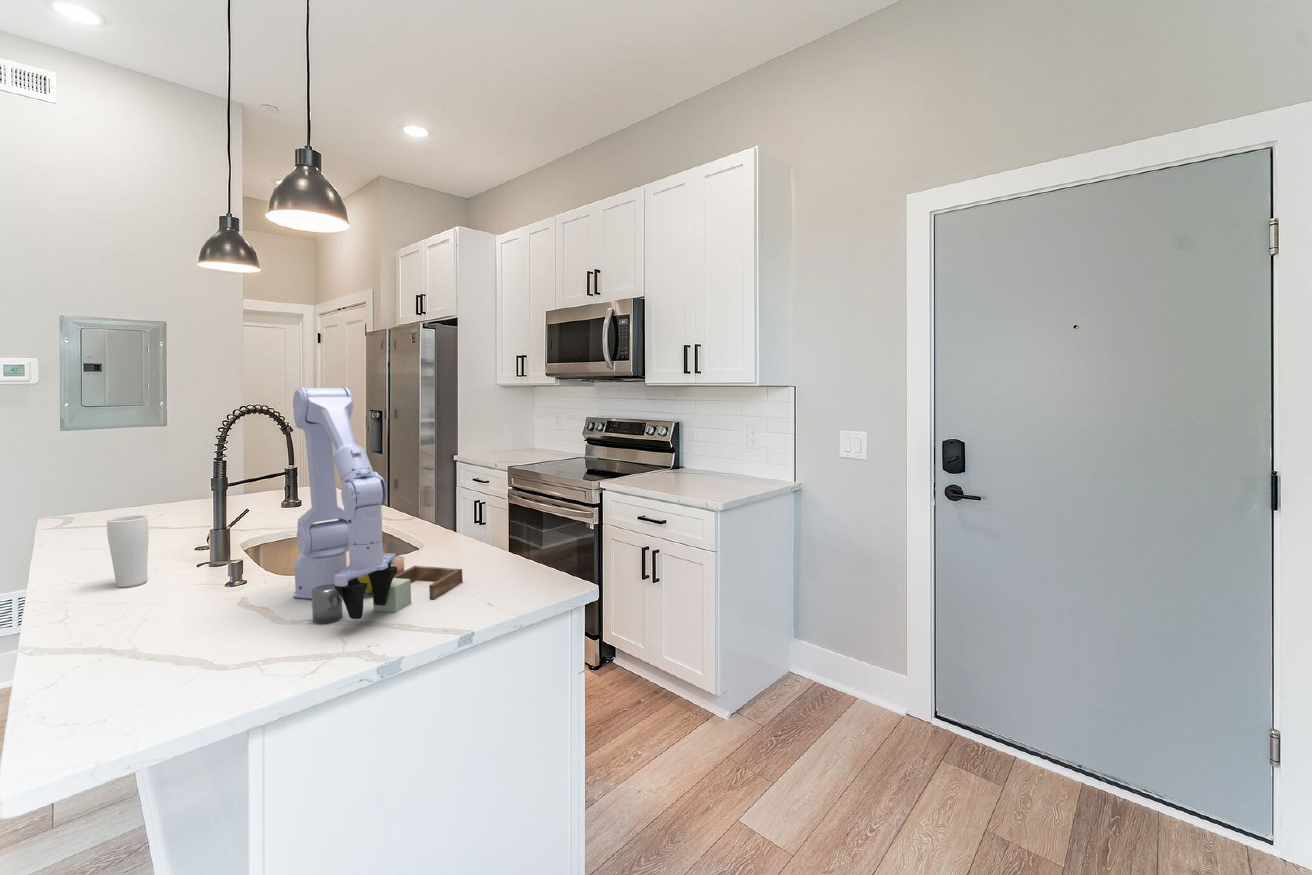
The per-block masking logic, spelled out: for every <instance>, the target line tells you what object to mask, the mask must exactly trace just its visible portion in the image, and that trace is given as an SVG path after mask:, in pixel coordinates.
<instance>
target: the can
mask: <svg viewBox="0 0 1312 875" xmlns="http://www.w3.org/2000/svg"><path fill="white" fill-rule="evenodd" d="M311 592H312V599H311V610H312V611H311V612H312V622H313V624H316V625H329V624H333V623H336V622H338V621H341V620H342V619H343V617H344V616H343V614H344V613H343V599H342V597H341V596H340V594H339V593H338V592H337V590H336V589H335V588H334V584H328V585H322V586H318V587H315V588H313V589H312V590H311Z"/></svg>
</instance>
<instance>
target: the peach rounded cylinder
mask: <svg viewBox="0 0 1312 875" xmlns="http://www.w3.org/2000/svg"><path fill="white" fill-rule="evenodd" d="M395 558H396V563H395V564H390V566H395V567H397V573H396V574H395V575H397V574H399V573H401V572H403V571H405V558H404V556H399V555H395Z"/></svg>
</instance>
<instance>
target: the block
mask: <svg viewBox="0 0 1312 875" xmlns="http://www.w3.org/2000/svg"><path fill="white" fill-rule="evenodd" d="M411 585H412V583H411V580H410V579H400V578H393V580H392V583H391V586H390V589H389V593H388V597H387V602H386V605H384V606H381V605H375V604H374V601H373V600H372V601H373V603H372V604H373V609H372V610H373V611H381V612H392V613H397V612H399V611H400V610H402V609H403V608H405V607H407V606H409V605H411V604H412V586H411Z"/></svg>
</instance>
